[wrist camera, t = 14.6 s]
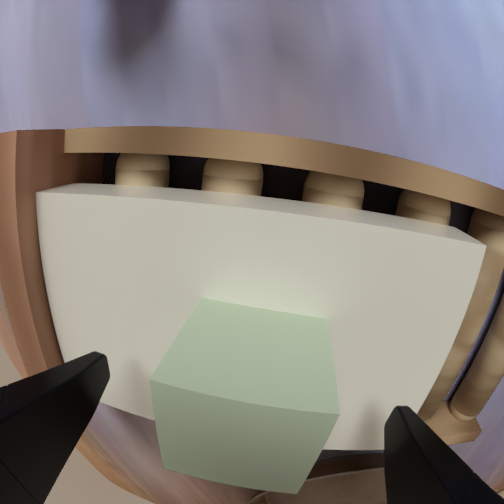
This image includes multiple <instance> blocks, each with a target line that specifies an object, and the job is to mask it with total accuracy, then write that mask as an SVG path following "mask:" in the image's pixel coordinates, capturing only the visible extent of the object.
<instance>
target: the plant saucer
mask: <svg viewBox="0 0 504 504" xmlns="http://www.w3.org/2000/svg"><path fill="white" fill-rule="evenodd" d="M247 504H387V497H386V485H385V474H384V454H383V453H379V454H361V455H352V456H345V457H339V458H333V459H328V460H324V461H320V462H316V463H315V464H314V466H313V468H312V469H311V471H310V473H309V475H308V476H307V478H306V480H305V482H304V483H303V485H302V487H301V488H300V490H299V492H298V493H297V494H291V493H281V492H272V491H264V490H260V491H259V492H258V493H257V494H255V495H254V496H253V497H252V499H251V500H250V501H249V502H248V503H247Z"/></svg>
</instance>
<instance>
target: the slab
mask: <svg viewBox="0 0 504 504" xmlns="http://www.w3.org/2000/svg"><path fill="white" fill-rule="evenodd" d="M36 211H37V224H38V235H39V244H40V252H41V260H42V266H43V273H44V279H45V285H46V290H47V295H48V300H49V305H50V310H51V314H52V318H53V323H54V327H55V331H56V334H57V338H58V342H59V346H60V349H61V353H62V356H63V359H64V362H65V363H66V362H68V361H71V360H73V359H76V358H78V357H81V356H83V355H86V354H88V353H91V352H93V351H97V352H100V353H102V354H105V355H106V357H107V360H108V365H109V370H110V379H109V382H108V384H107V386H106V388H105V390H104V393H103V395H102V397H101V399H100V401H99V402H101V403H104V404H107V405H109V406H112V407H115V408H118V409H120V410H123V411H126V412H129V413H132V414H135V415H138V416H141V417H145V418H148V419H151V420H154V421H155V417H154V410H153V403H152V396H151V387H150V378H151V376H152V374H153V373H154V371H155V370H156V368H157V366H158V365H159V363H160V362H161V360H162V358H163V357H164V355H165V354H166V352H167V350H168V349H169V347H170V346H171V344H172V343H173V341H174V339H175V338H176V336H177V335H178V333H179V331H180V330H181V328H182V327H183V325H184V324H185V322H186V320H187V319H188V317H189V316H190V314H191V313H192V311H193V309H194V308H195V306H196V305H197V303H198V302H199V300H200V299H201V297H202V298H207V299H212V300H217V301H223V302H228V303H234V304H239V305H245V306H251V307H256V308H262V309H268V310H274V311H281V312H287V313H293V314H300V315H307V316H313V317H320V318H327V319H328V324H329V331H330V338H331V344H332V352H333V359H334V367H335V374H336V383H337V391H338V400H339V409H340V415H339V417H338V419H337V421H336V424H335V426H334V428H333V430H332V432H331V434H330V436H329V438H328V440H327V442H326V444H325V445H324V447H323V449H327V450H384V426H385V423H386V421H387V419H388V417H389V416H390V414H391V412H392V411H393V409H394V407H396V406H409V407H410V408H411V409H412V410H413V411H414V412H415V413H416V414H417V413H418V411H419V410H420V408H421V406H422V404H423V403H424V401H425V399H426V397H427V395H428V394H429V392H430V390H431V388H432V386H433V384H434V382H435V381H436V379H437V377H438V375H439V373H440V371H441V369H442V367H443V365H444V362H445V360H446V358H447V356H448V354H449V352H450V350H451V347H452V345H453V343H454V340H455V338H456V336H457V333H458V331H459V329H460V326H461V324H462V321H463V318H464V316H465V313H466V311H467V308H468V305H469V302H470V300H471V297H472V294H473V291H474V288H475V285H476V282H477V278H478V275H479V272H480V268H481V265H482V262H483V258H484V254H485V250H486V247H487V246H486V245H485V244H483V243H481V242H480V241H478V240H476V239H475V238H473V237H471V236H469V235H468V234H466V233H464V232H462V231H461V230H459V229H457V228H455V227H452V226H447V225H442V224H437V223H432V222H427V221H422V220H416V219H411V218H405V217H400V216H394V215H389V214H383V213H377V212H371V211H365V210H358V209H352V208H345V207H339V206H332V205H325V204H318V203H311V202H303V201H295V200H288V199H279V198H271V197H262V196H254V195H244V194H235V193H225V192H214V191H203V190H191V189H178V188H165V187H149V186H132V185H112V184H85V183H72V184H68V185H63V186H59V187H55V188H51V189H46V190H42V191H38V192H36Z"/></svg>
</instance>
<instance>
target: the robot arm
mask: <svg viewBox="0 0 504 504" xmlns="http://www.w3.org/2000/svg"><path fill="white" fill-rule="evenodd" d="M109 379H110V370H109V365H108V360H107V357H106V355H105V354H102V353H100V352H97V351H93V352H91V353H88V354H86V355H83V356H81V357H78V358H76V359H73V360H71V361H68V362H66V363H63V364H61V365H58V366H56V367H53V368H50V369H48V370H45V371H43V372H40V373H38V374H35V375H32V376H30V377H27V378H25V379H22V380H19V381H17V382H14V383H11V384H9V385H8V386H3V387H0V504H44V502H45V500H46V498H47V496H48V494H49V492H50V491H51V489H52V487H53V485H54V483H55V481H56V479H57V477H58V476H59V474H60V472H61V470H62V469H63V467H64V465H65V463H66V461H67V460H68V458H69V456H70V454H71V453H72V451H73V449H74V447H75V446H76V444H77V442H78V440H79V439H80V437H81V435H82V434H83V432H84V430H85V428H86V427H87V425H88V423H89V422H90V420H91V418H92V416H93V414H94V412H95V410H96V408H97V406H98V404H99V401H100V399H101V397H102V395H103V393H104V390H105V388H106V386H107V384H108V382H109ZM384 474H385V485H386V497H387V504H504V499H503V498H502V497H501V496H500V495H498V494H497V493H496V492H495V491H494V490H493V489H491V488H490V487H489V486H488V485H487V484H486V483H485V482H484V481H483V480H482V479H481V478H480V477H479V476H478V475H477V474H476V473H473V470H472V469H471V468H470V467H469V466H468V465H467V464H466V463H465V462H464V461H463V460H462V459H461V458H460V457H459V456H458V455H457V454H456V453H455V452H454V451H453V450H452V449H451V448H450V447H449V446H448V445H447V444H446V443H445V442H444V441H443V440H442V439H441V438H440V437H439V436H438V435H437V434H436V433H435V432H434V431H433V430H432V429H431V428H430V427H429V426H428V425H427V424H426V423H425V422H424V421H423V420H422V419H421V418H420V417H419V416H418V415H417V414H416V413H415V412H414V411H413V410H412V409H411V408H410V407H409V406H396V407H394V409H393V411H392V412H391V414H390V416H389V417H388V419H387V421H386V423H385V426H384Z"/></svg>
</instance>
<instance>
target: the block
mask: <svg viewBox="0 0 504 504" xmlns="http://www.w3.org/2000/svg"><path fill="white" fill-rule="evenodd" d="M150 387H151V396H152V403H153V410H154V417H155V424H156V430H157V436H158V442H159V448H160V453H161V458H162V463H163V468H164V469H167V470H170V471H174V472H177V473H181V474H184V475H188V476H192V477H196V478H200V479H204V480H208V481H213V482H217V483H222V484H227V485H232V486H238V487H244V488H250V489H257V490H264V491H272V492H281V493H291V494H297V493H298V492H299V490H300V488H301V487H302V485H303V483H304V482H305V480H306V478H307V476H308V475H309V473H310V471H311V469H312V468H313V466H314V464H315V462H316V460H317V459H318V457H319V455H320V453H321V451H322V449H323V447H324V445H325V444H326V442H327V440H328V438H329V436H330V434H331V432H332V430H333V428H334V426H335V424H336V421H337V419H338V417H339V415H340V409H339V400H338V391H337V383H336V374H335V367H334V359H333V352H332V344H331V338H330V331H329V324H328V319H327V318H320V317H313V316H307V315H300V314H293V313H287V312H281V311H274V310H268V309H262V308H256V307H251V306H245V305H239V304H234V303H228V302H223V301H217V300H212V299H207V298H202V297H201V299H200V300H199V302H198V303H197V305H196V306H195V308H194V309H193V311H192V313H191V314H190V316H189V317H188V319H187V320H186V322H185V324H184V325H183V327H182V328H181V330H180V331H179V333H178V335H177V336H176V338H175V339H174V341H173V343H172V344H171V346H170V347H169V349H168V350H167V352H166V354H165V355H164V357H163V358H162V360H161V362H160V363H159V365H158V366H157V368H156V370H155V371H154V373H153V374H152V376H151V378H150Z"/></svg>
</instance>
